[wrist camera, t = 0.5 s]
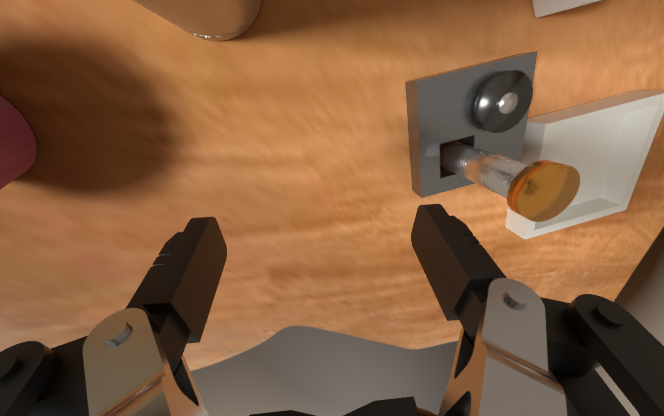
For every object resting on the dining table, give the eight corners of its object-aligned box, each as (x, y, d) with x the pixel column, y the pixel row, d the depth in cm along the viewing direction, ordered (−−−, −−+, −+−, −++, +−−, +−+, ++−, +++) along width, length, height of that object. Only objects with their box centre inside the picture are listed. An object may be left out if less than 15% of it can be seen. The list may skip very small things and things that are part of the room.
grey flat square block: (405, 81, 27) (424, 80, 23) (516, 54, 27) (552, 49, 24) (412, 190, 33) (428, 203, 29) (503, 165, 33) (530, 174, 30)
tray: (519, 120, 31) (545, 124, 28) (634, 90, 32) (672, 91, 29) (505, 227, 38) (524, 239, 35) (598, 200, 39) (625, 209, 36)
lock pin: (426, 138, 30) (528, 174, 17) (462, 129, 30) (587, 158, 18) (427, 174, 32) (519, 228, 20) (461, 165, 32) (572, 213, 20)
